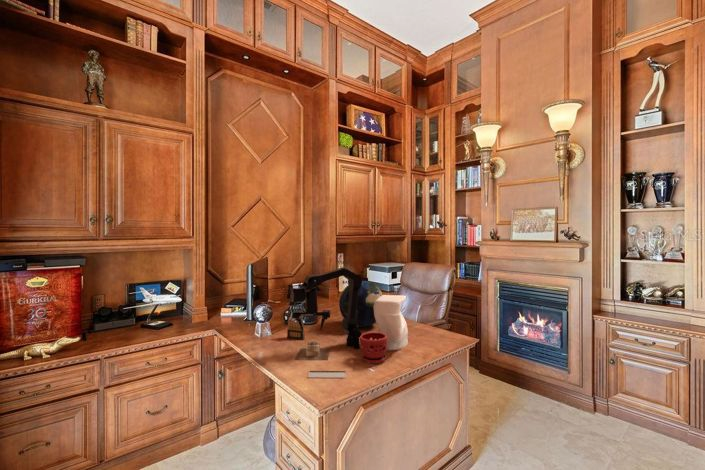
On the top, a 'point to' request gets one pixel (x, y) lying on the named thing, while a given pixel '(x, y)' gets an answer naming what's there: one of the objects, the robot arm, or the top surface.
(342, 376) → the mat
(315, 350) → the collar
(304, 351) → the post stand
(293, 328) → the ammunition clip
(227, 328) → the top surface
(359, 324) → the globe
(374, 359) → the plant pot
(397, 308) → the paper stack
